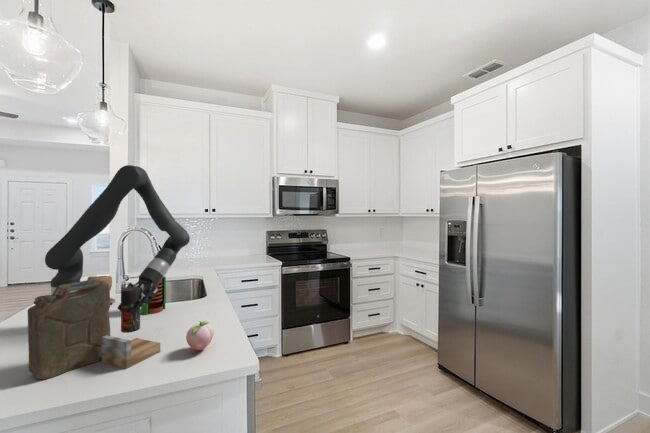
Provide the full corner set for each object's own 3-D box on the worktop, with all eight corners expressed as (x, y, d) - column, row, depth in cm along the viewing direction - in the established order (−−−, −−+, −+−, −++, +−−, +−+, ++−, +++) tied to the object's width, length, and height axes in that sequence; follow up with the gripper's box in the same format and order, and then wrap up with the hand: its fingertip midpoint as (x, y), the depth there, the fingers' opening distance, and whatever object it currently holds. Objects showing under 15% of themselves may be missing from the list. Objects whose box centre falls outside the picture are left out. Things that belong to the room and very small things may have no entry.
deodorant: (143, 328, 115) (143, 287, 114) (127, 333, 109) (127, 291, 109) (133, 325, 117) (133, 285, 117) (117, 330, 112) (117, 289, 111)
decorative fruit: (193, 344, 111) (193, 316, 110) (216, 344, 110) (216, 316, 110) (180, 356, 101) (180, 326, 101) (205, 357, 101) (205, 326, 101)
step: (101, 362, 97) (101, 337, 97) (136, 346, 109) (136, 323, 108) (126, 368, 94) (126, 342, 93) (160, 351, 105) (160, 328, 105)
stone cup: (111, 299, 164) (111, 271, 164) (117, 304, 156) (117, 275, 156) (75, 306, 153) (74, 276, 153) (79, 311, 145) (78, 280, 145)
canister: (101, 350, 106) (100, 277, 105) (113, 357, 101) (112, 280, 100) (26, 375, 90) (25, 289, 89) (36, 384, 85) (35, 293, 85)
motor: (152, 315, 140) (152, 271, 140) (135, 314, 142) (135, 270, 142) (168, 308, 150) (168, 267, 150) (152, 307, 152) (152, 266, 152)
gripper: (135, 265, 122) (104, 303, 111) (162, 268, 117) (133, 308, 106) (147, 275, 127) (119, 313, 117) (174, 279, 122) (147, 318, 112)
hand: (126, 311), depth 112 cm, fingers closed on deodorant, 6 cm apart
